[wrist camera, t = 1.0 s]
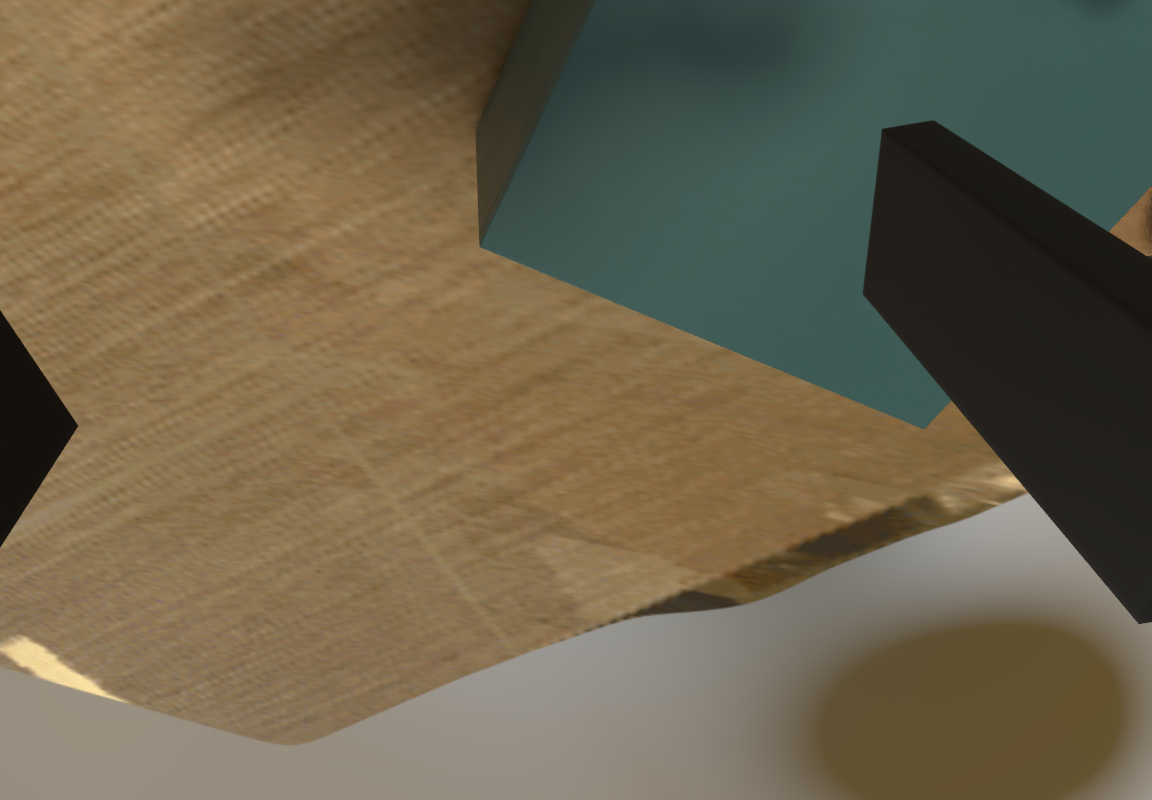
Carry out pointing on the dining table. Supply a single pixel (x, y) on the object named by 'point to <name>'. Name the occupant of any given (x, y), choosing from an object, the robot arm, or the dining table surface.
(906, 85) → the cooler lid
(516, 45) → the cooler
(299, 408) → the dining table surface
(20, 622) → the dining table surface
